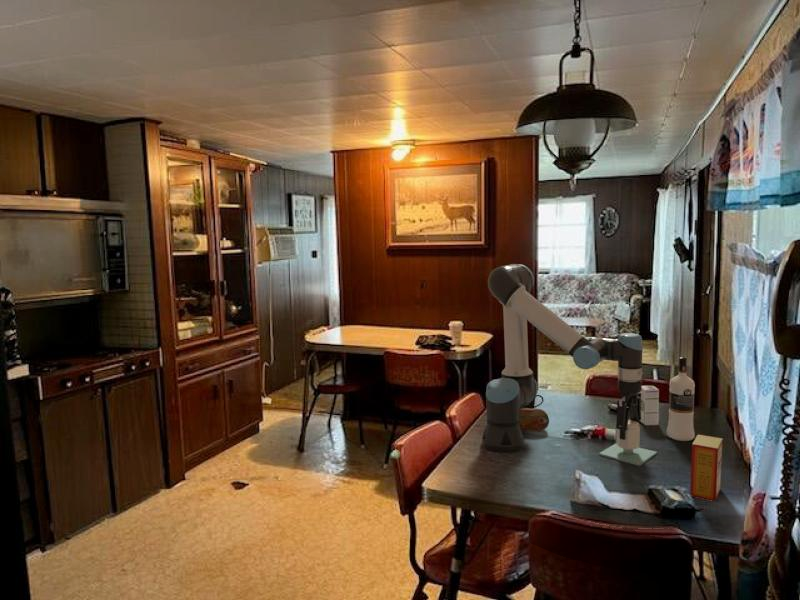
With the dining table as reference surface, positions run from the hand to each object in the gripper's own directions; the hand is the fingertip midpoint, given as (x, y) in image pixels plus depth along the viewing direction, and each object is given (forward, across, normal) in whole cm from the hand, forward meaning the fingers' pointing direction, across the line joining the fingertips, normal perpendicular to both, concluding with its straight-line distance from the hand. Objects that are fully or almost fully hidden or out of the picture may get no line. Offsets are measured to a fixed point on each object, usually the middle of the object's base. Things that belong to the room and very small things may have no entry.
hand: (628, 444), depth 199 cm
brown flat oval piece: (+4, -1, +39) cm, 39 cm away
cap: (0, 0, 0) cm, 0 cm away
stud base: (+3, 0, 0) cm, 3 cm away
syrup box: (+4, +36, +8) cm, 37 cm away
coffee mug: (+4, +15, +50) cm, 52 cm away
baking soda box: (+4, -13, -29) cm, 32 cm away
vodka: (+4, +28, -7) cm, 29 cm away
